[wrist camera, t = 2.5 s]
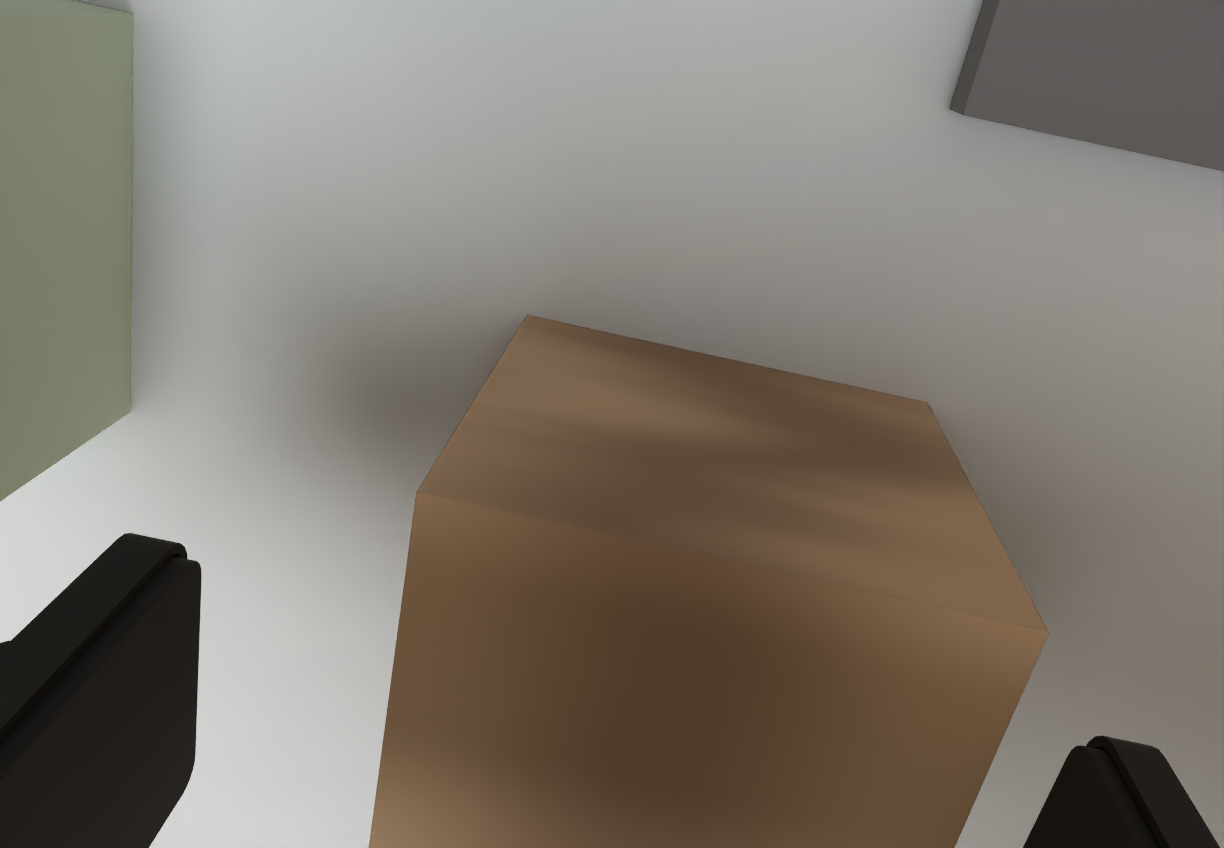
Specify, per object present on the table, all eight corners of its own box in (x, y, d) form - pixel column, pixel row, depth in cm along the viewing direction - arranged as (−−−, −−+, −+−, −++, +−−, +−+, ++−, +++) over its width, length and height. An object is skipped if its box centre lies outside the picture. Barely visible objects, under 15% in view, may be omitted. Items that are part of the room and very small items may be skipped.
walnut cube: (926, 400, 15) (1049, 632, 9) (816, 721, 17) (861, 1058, 12) (528, 313, 15) (416, 492, 9) (472, 644, 17) (356, 942, 12)
